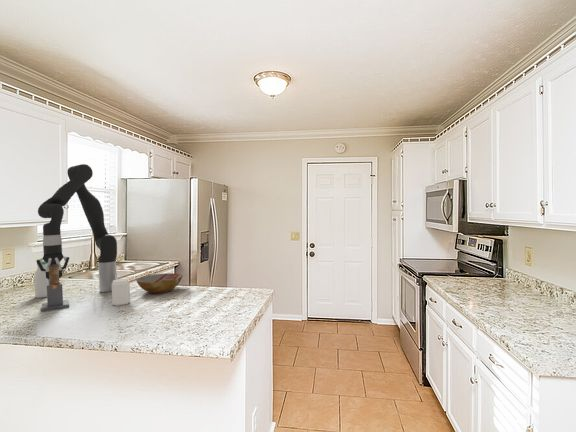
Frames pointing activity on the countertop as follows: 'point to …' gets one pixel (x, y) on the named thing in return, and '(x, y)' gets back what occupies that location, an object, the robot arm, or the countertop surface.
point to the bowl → (159, 282)
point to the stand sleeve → (54, 298)
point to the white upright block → (120, 292)
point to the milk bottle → (41, 282)
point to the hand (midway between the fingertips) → (54, 278)
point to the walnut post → (54, 274)
